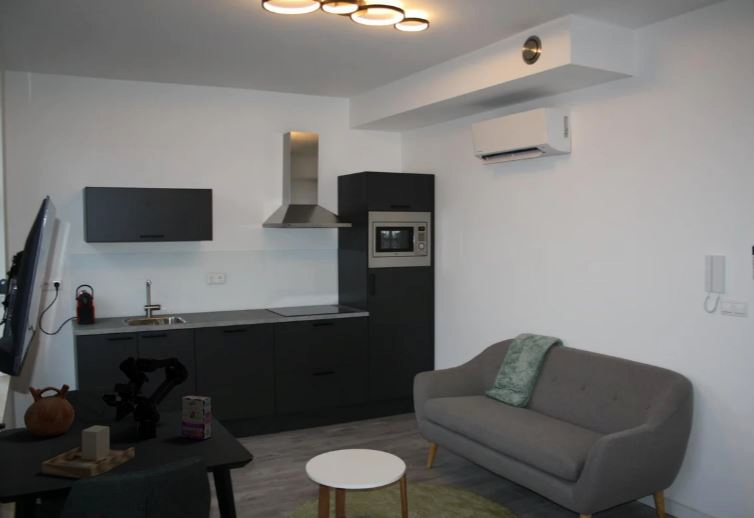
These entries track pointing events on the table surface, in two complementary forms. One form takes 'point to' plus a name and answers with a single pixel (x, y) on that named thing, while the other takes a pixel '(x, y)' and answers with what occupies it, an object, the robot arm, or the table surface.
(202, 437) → the candy bar box
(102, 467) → the wooden tray
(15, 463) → the table surface
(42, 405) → the jug
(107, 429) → the cream block
